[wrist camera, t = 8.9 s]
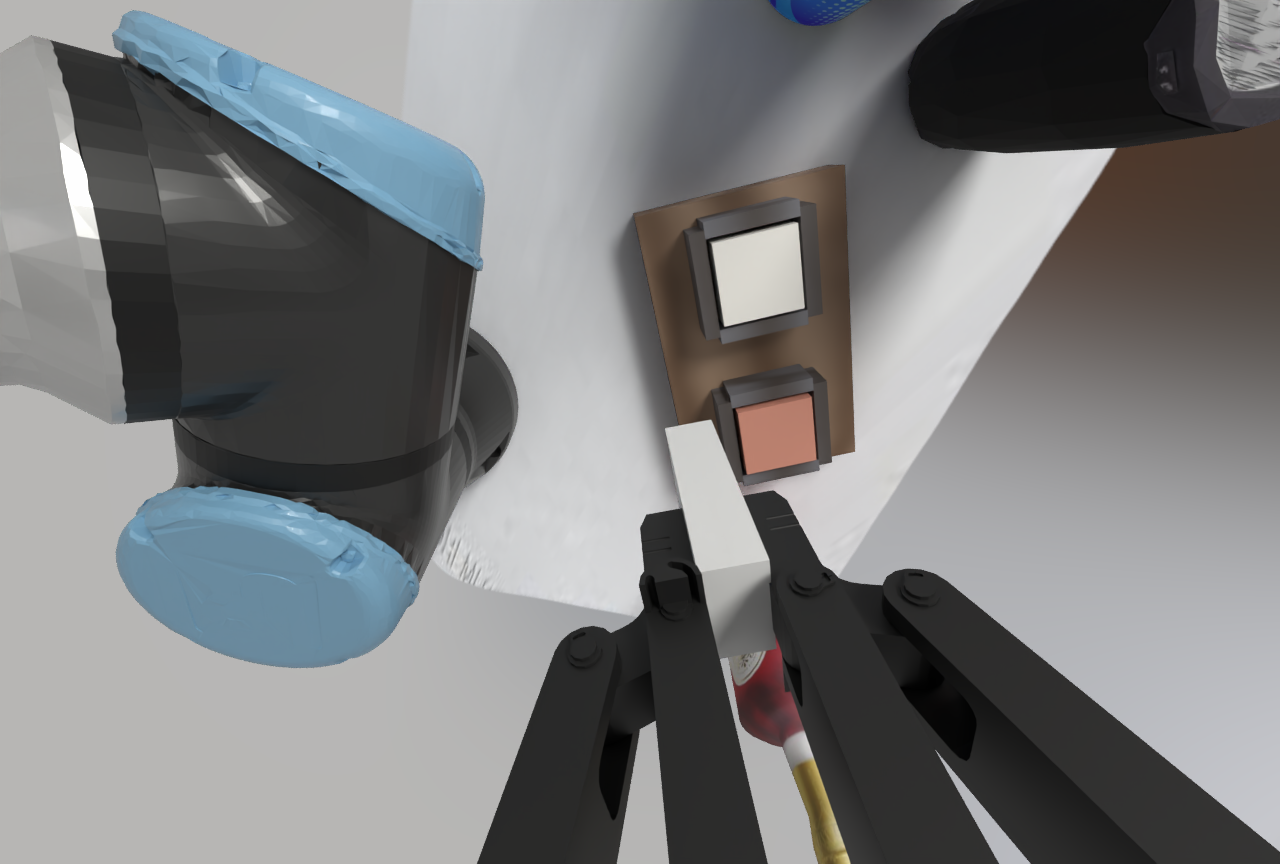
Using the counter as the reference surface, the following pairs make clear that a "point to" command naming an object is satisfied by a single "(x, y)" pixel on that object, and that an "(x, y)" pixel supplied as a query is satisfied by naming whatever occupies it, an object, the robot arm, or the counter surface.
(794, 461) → the brick-red key
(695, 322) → the key panel
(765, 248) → the off-white key
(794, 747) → the liquor
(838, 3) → the blue striped container
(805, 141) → the counter surface
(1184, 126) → the black tapered cylinder
